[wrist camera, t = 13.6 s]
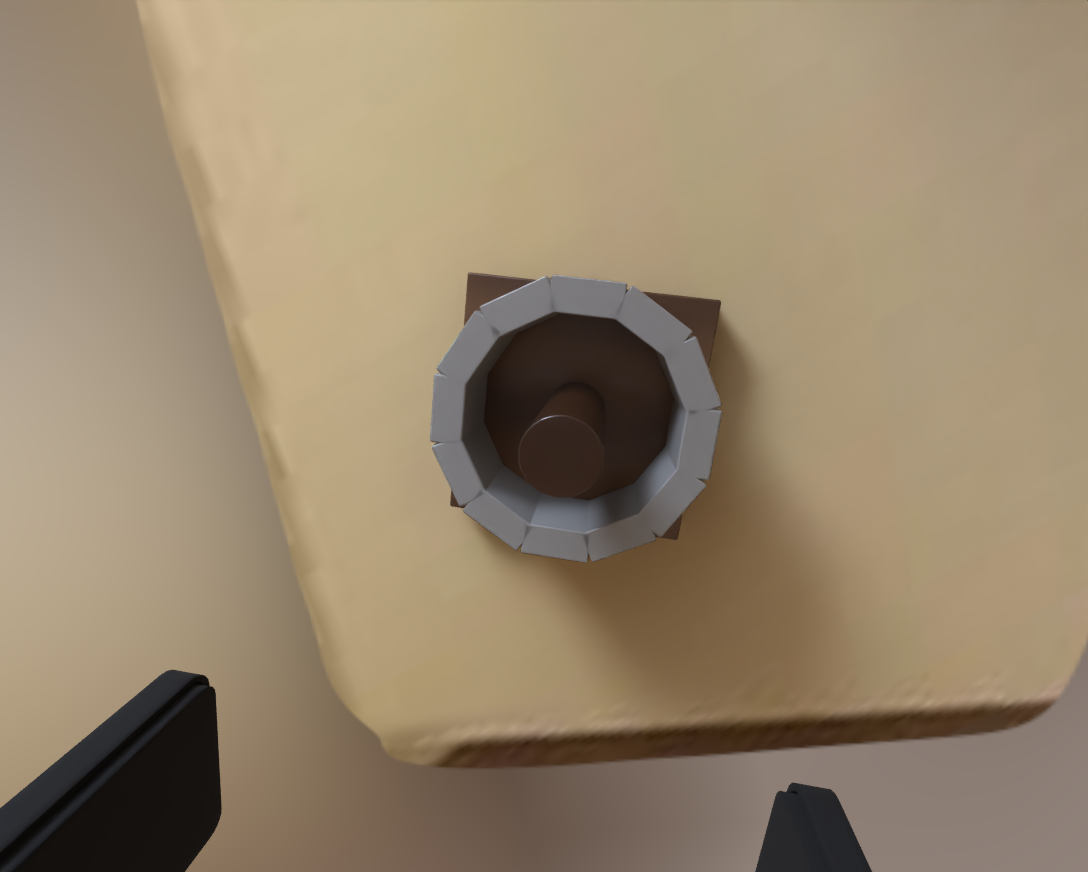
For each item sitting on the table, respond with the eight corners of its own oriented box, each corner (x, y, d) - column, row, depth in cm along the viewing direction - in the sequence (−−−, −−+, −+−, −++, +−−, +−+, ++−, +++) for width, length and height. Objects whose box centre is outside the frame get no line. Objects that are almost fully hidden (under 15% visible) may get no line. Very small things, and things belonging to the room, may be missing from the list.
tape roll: (468, 270, 22) (440, 262, 18) (722, 298, 21) (745, 295, 17) (450, 505, 24) (422, 537, 20) (678, 539, 23) (690, 579, 20)
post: (476, 274, 23) (396, 251, 14) (714, 301, 22) (782, 293, 14) (458, 495, 25) (380, 590, 17) (673, 527, 25) (709, 645, 16)
